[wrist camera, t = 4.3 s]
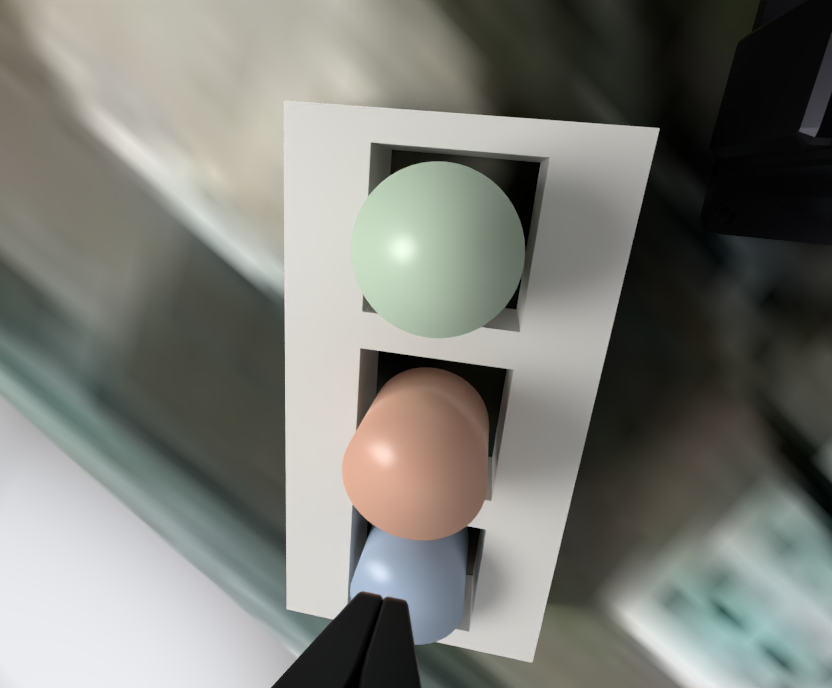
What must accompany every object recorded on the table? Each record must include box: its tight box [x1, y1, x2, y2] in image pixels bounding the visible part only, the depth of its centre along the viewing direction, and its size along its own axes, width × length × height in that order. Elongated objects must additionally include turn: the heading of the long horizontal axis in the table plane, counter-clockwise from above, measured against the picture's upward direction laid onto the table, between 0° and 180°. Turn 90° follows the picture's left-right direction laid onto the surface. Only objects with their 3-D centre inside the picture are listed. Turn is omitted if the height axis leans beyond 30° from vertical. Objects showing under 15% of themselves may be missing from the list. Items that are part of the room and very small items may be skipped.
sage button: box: [351, 161, 525, 338], centre depth 11 cm, size 4×4×3 cm
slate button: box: [350, 525, 469, 645], centre depth 16 cm, size 4×4×3 cm
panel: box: [283, 100, 660, 663], centre depth 15 cm, size 9×17×2 cm, turn 175°
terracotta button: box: [342, 367, 489, 540], centre depth 13 cm, size 4×4×3 cm
